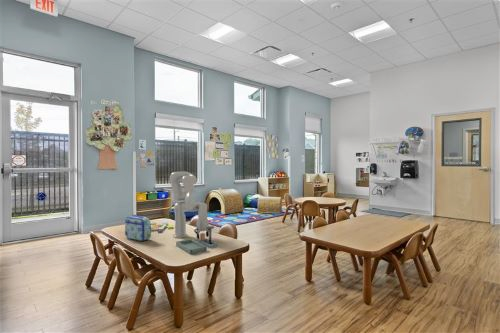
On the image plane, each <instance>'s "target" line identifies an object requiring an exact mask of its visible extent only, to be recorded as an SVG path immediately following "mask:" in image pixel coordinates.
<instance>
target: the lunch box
mask: <svg viewBox="0 0 500 333" xmlns="http://www.w3.org/2000/svg"><path fill="white" fill-rule="evenodd" d="M124 223H125V225H124V227H125V229H124V235H125V237H126V239H127V240H133V241H134V240H135V241H137V242H138V241H139V242H143V241H146V240H149V239H150V238H151V237H152V231H151V219H149V217H146V216H143V215H142V216H141V215H136V214H133V215H131V216H126V218H125V220H124Z"/></svg>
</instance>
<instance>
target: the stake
mask: <svg viewBox="0 0 500 333" xmlns="http://www.w3.org/2000/svg"><path fill="white" fill-rule="evenodd" d="M209 226H210V227H207V229H209V236H208V239H209V243H208V244H210V245H212V241H213V240H212V229H214V228H215V227H214V225H209Z"/></svg>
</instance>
